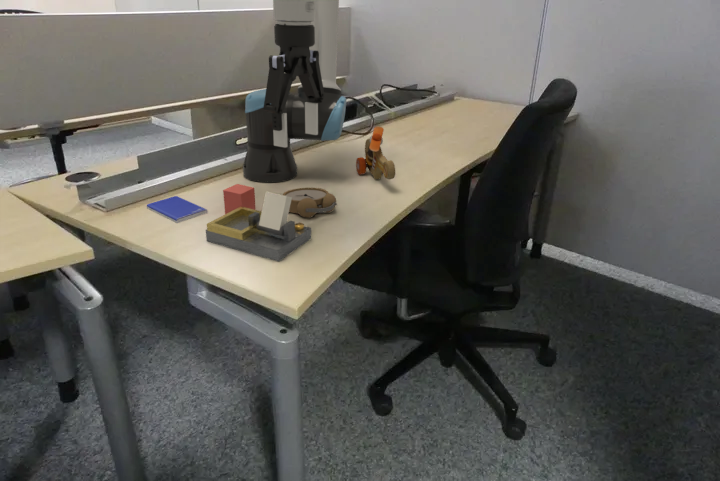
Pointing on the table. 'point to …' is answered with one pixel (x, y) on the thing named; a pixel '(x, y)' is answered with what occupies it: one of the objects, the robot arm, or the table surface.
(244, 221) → the panel
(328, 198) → the alarm clock
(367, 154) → the wheeled toy
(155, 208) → the blue book
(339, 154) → the table surface
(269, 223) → the toggle
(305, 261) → the table surface
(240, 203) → the red toy cube
